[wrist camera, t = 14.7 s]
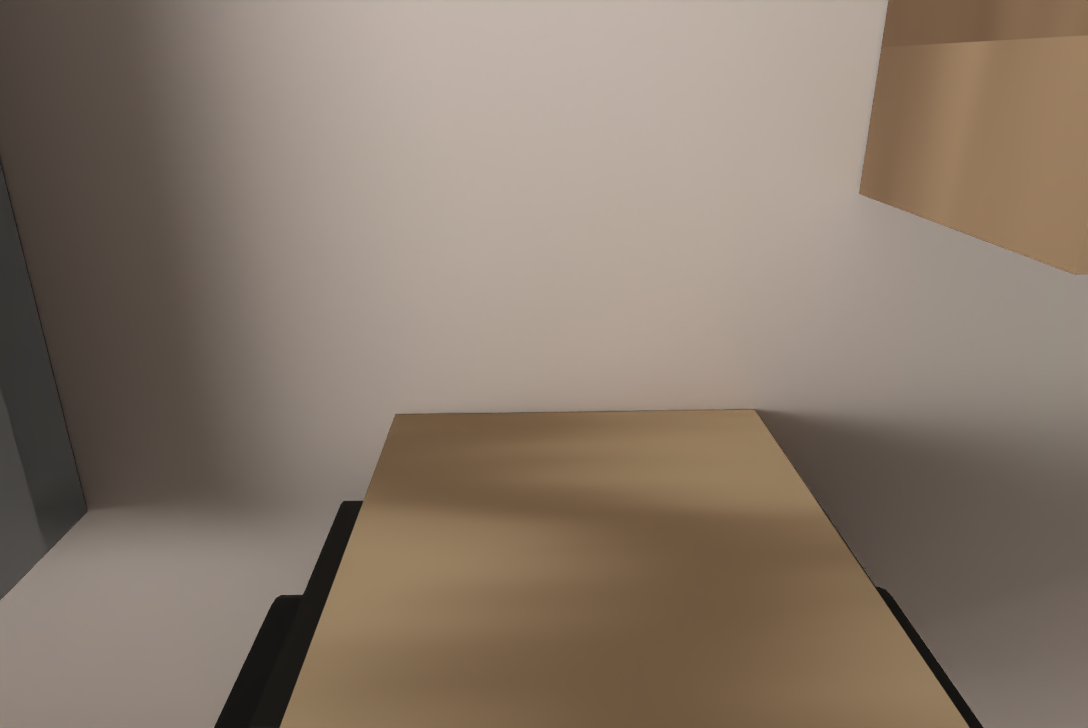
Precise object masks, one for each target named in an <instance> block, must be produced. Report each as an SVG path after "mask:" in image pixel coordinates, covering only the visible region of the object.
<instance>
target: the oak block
mask: <svg viewBox="0 0 1088 728" xmlns="http://www.w3.org/2000/svg"><path fill="white" fill-rule="evenodd" d="M280 728H970V727H969V726H968V725H967V723H966V722H965V720H964V719H963V717H962V716H961V714H960V713H959V711H958V710H957V708H956V707H955V705H954V704H953V702H952V701H951V699H950V698H949V696H948V695H947V693H946V692H945V690H944V689H943V688H942V686H941V685H940V683H939V682H938V680H937V679H936V677H935V676H934V674H933V673H932V671H931V670H930V668H929V667H928V665H927V664H926V662H925V661H924V659H923V658H922V656H921V655H920V654H919V652H918V651H917V649H916V648H915V646H914V645H913V643H912V642H911V640H910V639H909V637H908V636H907V634H906V633H905V631H904V630H903V628H902V627H901V625H900V624H899V622H898V621H897V620H896V618H895V617H894V615H893V614H892V612H891V611H890V609H889V608H888V606H887V605H886V603H885V602H884V600H883V599H882V597H881V596H880V594H879V593H878V591H877V590H876V588H875V587H874V586H873V584H872V583H871V581H870V580H869V578H868V577H867V575H866V574H865V572H864V571H863V569H862V568H861V566H860V565H859V563H858V562H857V560H856V559H855V557H854V556H853V554H852V553H851V552H850V550H849V549H848V547H847V546H846V544H845V543H844V541H843V540H842V538H841V537H840V535H839V534H838V532H837V531H836V529H835V528H834V526H833V525H832V523H831V522H830V520H829V519H828V517H827V516H826V515H825V513H824V512H823V510H822V509H821V507H820V506H819V504H818V503H817V501H816V500H815V498H814V497H813V495H812V494H811V492H810V491H809V489H808V488H807V486H806V485H805V483H804V482H803V481H802V479H801V478H800V476H799V475H798V473H797V472H796V470H795V469H794V467H793V466H792V464H791V463H790V461H789V460H788V458H787V457H786V455H785V454H784V452H783V451H782V449H781V448H780V447H779V445H778V444H777V442H776V441H775V439H774V438H773V436H772V435H771V433H770V432H769V430H768V429H767V427H766V426H765V424H764V423H763V421H762V420H761V418H760V417H759V415H758V414H757V413H756V411H755V410H754V409H753V410H681V411H608V412H535V413H463V414H395V417H394V420H393V422H392V425H391V428H390V430H389V433H388V436H387V439H386V441H385V444H384V447H383V449H382V452H381V455H380V458H379V460H378V463H377V466H376V468H375V471H374V474H373V476H372V479H371V482H370V485H369V487H368V490H367V493H366V495H365V498H364V501H363V504H362V506H361V509H360V512H359V514H358V517H357V520H356V522H355V525H354V528H353V531H352V533H351V536H350V539H349V541H348V544H347V547H346V550H345V552H344V555H343V558H342V560H341V563H340V566H339V568H338V571H337V574H336V577H335V579H334V582H333V585H332V587H331V590H330V593H329V596H328V598H327V601H326V604H325V606H324V609H323V612H322V615H321V617H320V620H319V623H318V625H317V628H316V631H315V633H314V636H313V639H312V642H311V644H310V647H309V650H308V652H307V655H306V658H305V661H304V663H303V666H302V669H301V671H300V674H299V677H298V679H297V682H296V685H295V688H294V690H293V693H292V696H291V698H290V701H289V704H288V707H287V709H286V712H285V715H284V717H283V720H282V723H281V725H280Z"/></svg>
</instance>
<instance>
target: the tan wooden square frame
mask: <svg viewBox="0 0 1088 728" xmlns="http://www.w3.org/2000/svg"><path fill="white" fill-rule="evenodd" d="M859 194H861V195H864V196H867V197H869V198H872V199H875V200H877V201H880V202H883V203H885V204H888V205H891V206H893V207H896V208H899V209H901V210H904V211H907V212H909V213H912V214H915V215H917V216H920V217H923V218H925V219H928V220H931V221H933V222H936V223H939V224H941V225H944V226H947V227H949V228H952V229H955V230H957V231H960V232H963V233H965V234H968V235H971V236H974V237H976V238H979V239H982V240H984V241H987V242H990V243H992V244H995V245H998V246H1000V247H1003V248H1006V249H1008V250H1011V251H1014V252H1016V253H1019V254H1022V255H1024V256H1027V257H1030V258H1032V259H1035V260H1038V261H1040V262H1043V263H1046V264H1048V265H1051V266H1054V267H1056V268H1059V269H1062V270H1064V271H1067V272H1070V273H1072V274H1088V0H889V2H888V8H887V15H886V21H885V28H884V35H883V41H882V48H881V54H880V61H879V67H878V74H877V81H876V87H875V94H874V100H873V107H872V113H871V120H870V127H869V133H868V140H867V146H866V153H865V159H864V166H863V173H862V179H861V186H860V192H859Z"/></svg>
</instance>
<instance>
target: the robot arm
mask: <svg viewBox="0 0 1088 728" xmlns="http://www.w3.org/2000/svg"><path fill="white" fill-rule="evenodd" d="M815 500H816V499H815ZM816 501H817V500H816ZM817 503H818V501H817ZM362 504H363V501H343V502H342V504H341V505H340V508H339V510H338V513H337V515H336V517H335V520H334V522H333V525H332V527H331V529H330V532H329V534H328V537H327V539H326V541H325V544H324V546H323V549H322V551H321V553H320V556H319V558H318V561H317V563H316V565H315V568H314V570H313V573H312V575H311V577H310V580H309V582H308V585H307V587H306V589H305V592H304V594H303V595H280V596H279V597H277V598H276V599H275V600H274V602H273V604H272V605H271V607H270V609H269V611H268V614H267V616H266V618H265V620H264V622H263V624H262V626H261V628H260V631H259V633H258V635H257V637H256V639H255V641H254V643H253V646H252V648H251V650H250V652H249V654H248V656H247V658H246V661H245V663H244V665H243V667H242V669H241V671H240V673H239V676H238V678H237V680H236V682H235V684H234V686H233V688H232V690H231V693H230V695H229V697H228V699H227V701H226V703H225V705H224V708H223V710H222V712H221V714H220V716H219V718H218V720H217V723H216V725H215V727H214V728H280V725H281V723H282V720H283V717H284V715H285V712H286V709H287V707H288V704H289V701H290V698H291V696H292V693H293V690H294V688H295V685H296V682H297V679H298V677H299V674H300V671H301V669H302V666H303V663H304V661H305V658H306V655H307V652H308V650H309V647H310V644H311V642H312V639H313V636H314V633H315V631H316V628H317V625H318V623H319V620H320V617H321V615H322V612H323V609H324V606H325V604H326V601H327V598H328V596H329V593H330V590H331V587H332V585H333V582H334V579H335V577H336V574H337V571H338V568H339V566H340V563H341V560H342V558H343V555H344V552H345V550H346V547H347V544H348V541H349V539H350V536H351V533H352V531H353V528H354V525H355V522H356V520H357V517H358V514H359V512H360V509H361V506H362ZM818 504H819V503H818ZM819 506H820V507H821V505H820V504H819ZM821 509H822V510H823V508H822V507H821ZM823 512H824V513H825V511H824V510H823ZM825 515H826V516H827V514H826V513H825ZM827 517H828V516H827ZM828 519H829V517H828ZM829 520H830V519H829ZM830 522H831V520H830ZM831 523H832V522H831ZM832 525H833V523H832ZM833 526H834V525H833ZM834 528H835V526H834ZM835 529H836V528H835ZM836 531H837V529H836ZM837 532H838V531H837ZM838 534H839V532H838ZM839 535H840V534H839ZM840 537H841V538H842V536H841V535H840ZM842 540H843V541H844V539H843V538H842ZM844 543H845V544H846V542H845V541H844ZM846 546H847V547H848V545H847V544H846ZM848 549H849V550H850V548H849V547H848ZM850 552H851V553H852V551H851V550H850ZM852 554H853V553H852ZM853 556H854V554H853ZM854 557H855V556H854ZM855 559H856V557H855ZM856 560H857V559H856ZM857 562H858V560H857ZM858 563H859V562H858ZM859 565H860V563H859ZM860 566H861V565H860ZM861 568H862V569H863V567H862V566H861ZM863 571H864V572H865V570H864V569H863ZM865 574H866V575H867V573H866V572H865ZM867 577H868V578H869V576H868V575H867ZM869 580H870V581H871V579H870V578H869ZM871 583H872V584H873V582H872V581H871ZM873 586H874V587H875V585H874V584H873ZM875 588H876V590H877V591H878V593H879V594H880V596H881V597H882V599H883V600H884V602H885V603H886V605H887V606H888V608H889V609H890V611H891V612H892V614H893V615H894V617H895V618H896V620H897V621H898V622H899V624H900V625H901V627H902V628H903V630H904V631H905V633H906V634H907V636H908V637H909V639H910V640H911V642H912V643H913V645H914V646H915V648H916V649H917V651H918V652H919V654H920V655H921V656H922V658H923V659H924V661H925V662H926V664H927V665H928V667H929V668H930V670H931V671H932V673H933V674H934V676H935V677H936V679H937V680H938V682H939V683H940V685H941V686H942V688H943V689H944V690H945V692H946V693H947V695H948V696H949V698H950V699H951V701H952V702H953V704H954V705H955V707H956V708H957V710H958V711H959V713H960V714H961V716H962V717H963V719H964V720H965V722H966V723H967V725H968V726H969V727H970V728H983V727H982V725H981V724H980V722H979V721H978V719H977V718H976V717H975V715H974V714H973V712H972V711H971V709H970V708H969V707H968V705H967V704H966V702H965V701H964V699H963V698H962V696H961V695H960V694H959V692H958V691H957V689H956V688H955V686H954V685H953V684H952V682H951V681H950V679H949V678H948V676H947V675H946V673H945V672H944V671H943V669H942V668H941V666H940V665H939V663H938V662H937V661H936V659H935V658H934V656H933V655H932V653H931V652H930V650H929V649H928V648H927V646H926V645H925V643H924V642H923V640H922V639H921V638H920V636H919V635H918V633H917V632H916V630H915V629H914V628H913V626H912V625H911V623H910V622H909V620H908V619H907V617H906V616H905V615H904V613H903V612H902V610H901V609H900V607H899V606H898V605H897V603H896V602H895V600H894V599H893V597H892V596H891V595H890V594H889V593H888V592H887V591H886V590H885V589H882V588H880V587H875Z"/></svg>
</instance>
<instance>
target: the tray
mask: <svg viewBox="0 0 1088 728" xmlns="http://www.w3.org/2000/svg"><path fill="white" fill-rule="evenodd" d="M86 512H87V509H86V505H85V501H84V497H83V493H82V489H81V485H80V481H79V477H78V473H77V469H76V465H75V461H74V457H73V453H72V449H71V445H70V441H69V437H68V433H67V429H66V425H65V421H64V417H63V413H62V409H61V405H60V401H59V397H58V393H57V389H56V385H55V381H54V377H53V373H52V369H51V365H50V361H49V356H48V352H47V348H46V344H45V340H44V336H43V332H42V328H41V324H40V320H39V316H38V312H37V308H36V304H35V300H34V296H33V292H32V288H31V284H30V280H29V276H28V272H27V268H26V264H25V260H24V256H23V252H22V248H21V244H20V240H19V236H18V232H17V228H16V224H15V220H14V216H13V212H12V208H11V204H10V200H9V196H8V192H7V188H6V184H5V180H4V176H3V172H2V168H1V164H0V600H1V599H2V598H3V597H4V596H5V595H6V594H7V593H8V592H9V591H10V590H11V589H12V588H13V587H14V586H15V585H16V584H17V583H18V582H19V581H20V580H21V579H22V578H23V577H24V576H25V575H26V574H27V573H28V572H29V571H30V570H31V569H32V568H33V566H34V565H35V564H36V563H37V562H38V561H39V560H40V559H41V558H42V557H43V556H44V555H45V554H46V553H47V552H48V551H49V550H50V549H51V548H52V547H53V546H54V545H55V544H56V543H57V542H58V541H59V540H60V539H61V538H62V537H63V536H64V535H65V534H66V533H67V532H68V531H69V530H70V529H71V528H72V527H73V526H74V525H75V524H76V523H77V522H78V521H79V520H80V519H81V518H82V517H83V515H84V514H85V513H86Z"/></svg>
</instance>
